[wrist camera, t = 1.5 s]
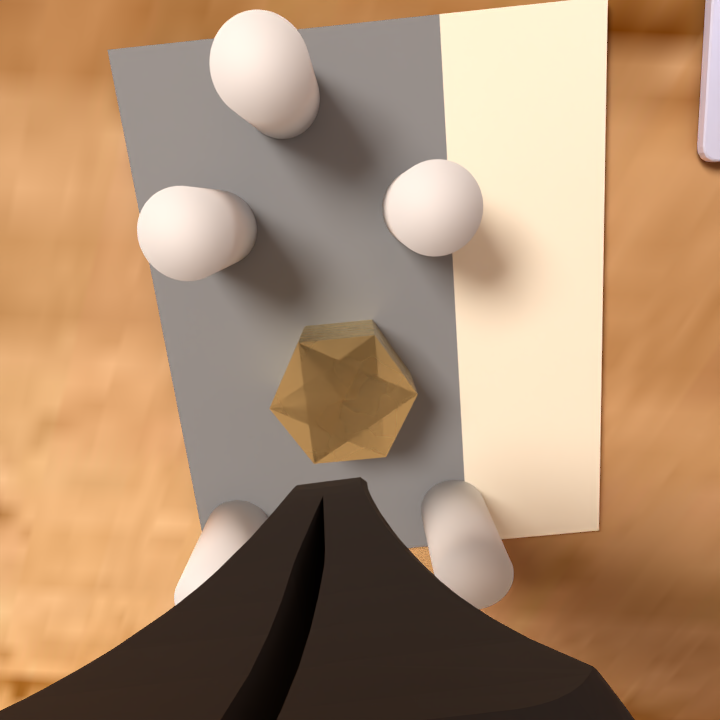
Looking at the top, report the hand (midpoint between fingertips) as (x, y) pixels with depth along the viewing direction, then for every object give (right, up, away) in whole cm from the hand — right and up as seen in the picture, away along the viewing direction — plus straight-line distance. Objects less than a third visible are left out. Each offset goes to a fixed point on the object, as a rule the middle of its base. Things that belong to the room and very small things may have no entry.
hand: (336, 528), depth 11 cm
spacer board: (+1, +5, +9) cm, 10 cm away
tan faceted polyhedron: (0, +2, +9) cm, 10 cm away
